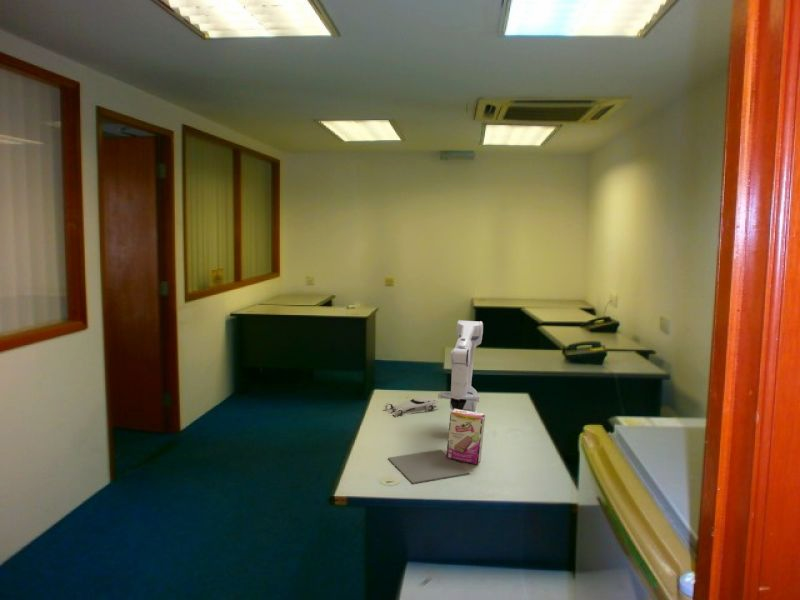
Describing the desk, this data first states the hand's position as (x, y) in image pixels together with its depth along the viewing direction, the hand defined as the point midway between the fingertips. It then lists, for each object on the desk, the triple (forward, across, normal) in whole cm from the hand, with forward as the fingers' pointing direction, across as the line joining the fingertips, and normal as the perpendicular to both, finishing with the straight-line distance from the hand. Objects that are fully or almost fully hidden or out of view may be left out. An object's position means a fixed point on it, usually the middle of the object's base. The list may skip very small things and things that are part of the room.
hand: (457, 419), depth 201 cm
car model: (+10, -24, +37) cm, 45 cm away
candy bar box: (+11, +4, -10) cm, 15 cm away
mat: (+11, -7, -18) cm, 22 cm away
